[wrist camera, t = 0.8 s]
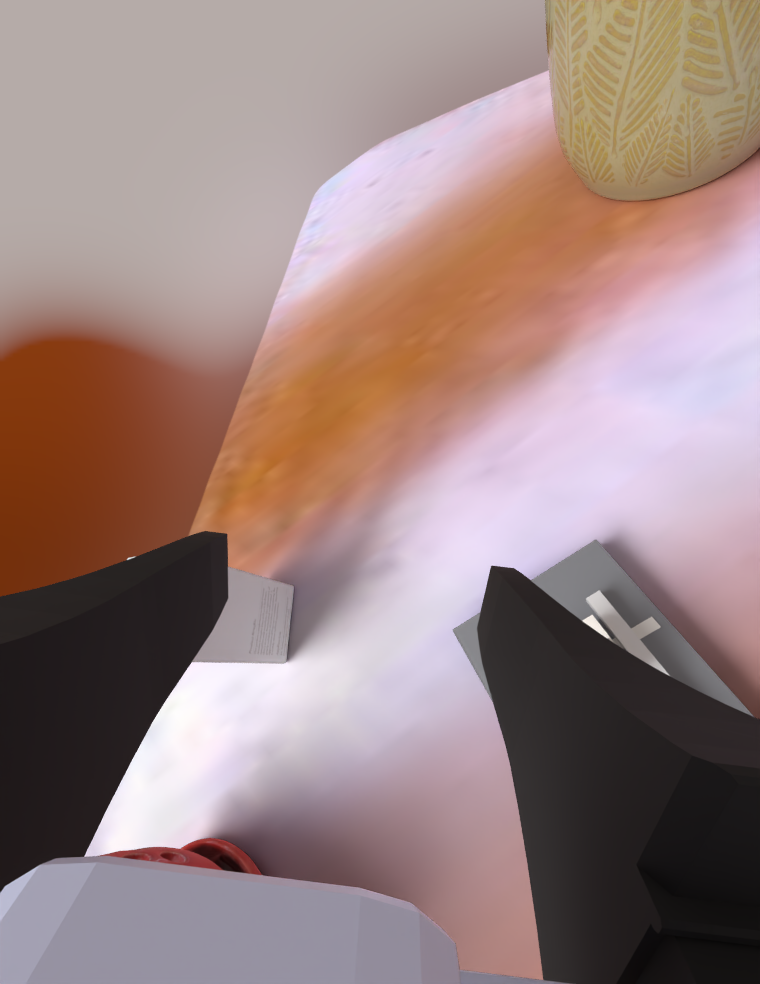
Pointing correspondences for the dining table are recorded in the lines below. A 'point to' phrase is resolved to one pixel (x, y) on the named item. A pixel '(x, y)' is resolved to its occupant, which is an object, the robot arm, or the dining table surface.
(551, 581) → the board
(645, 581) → the dining table surface
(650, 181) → the vase
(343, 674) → the dining table surface
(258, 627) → the skincare box
